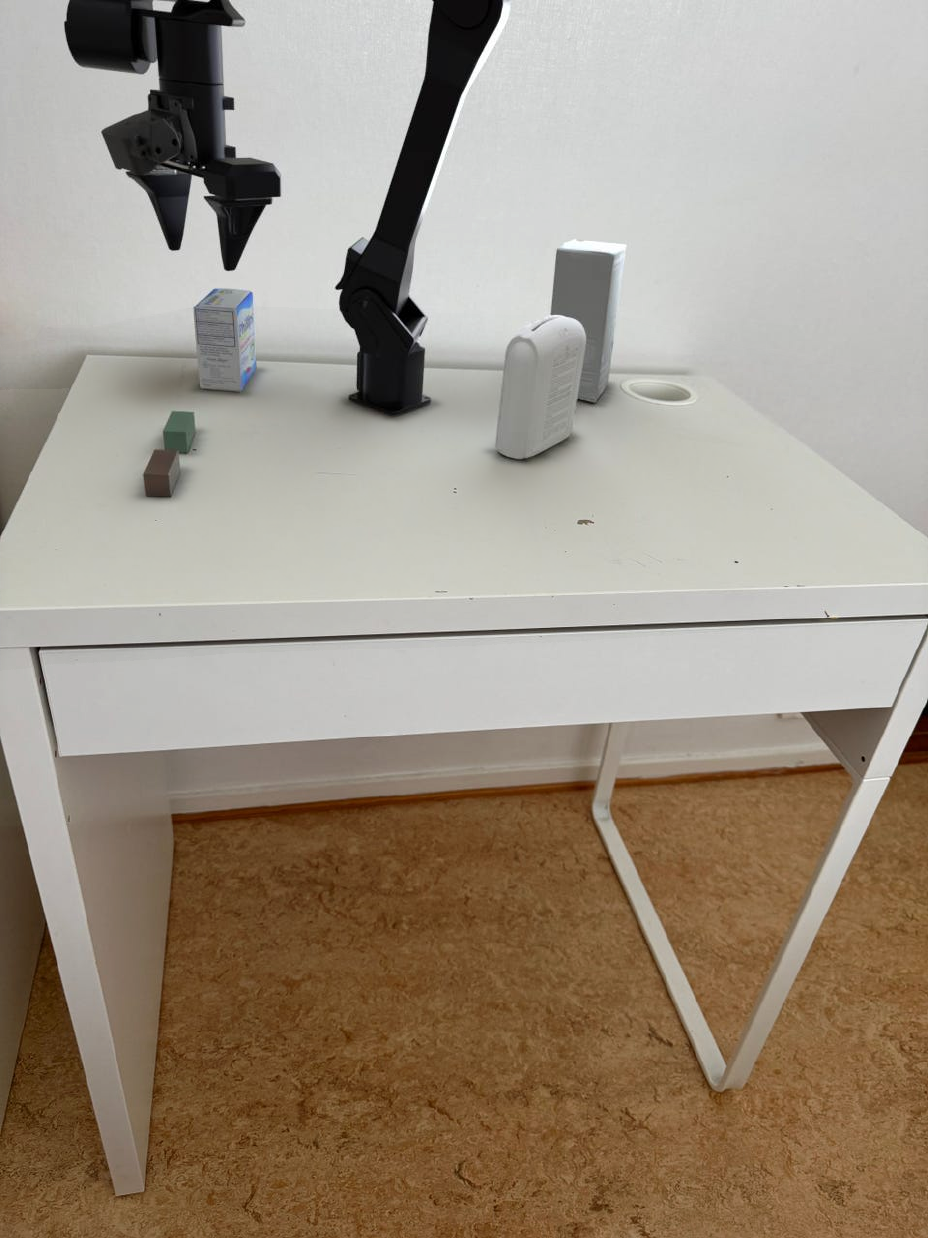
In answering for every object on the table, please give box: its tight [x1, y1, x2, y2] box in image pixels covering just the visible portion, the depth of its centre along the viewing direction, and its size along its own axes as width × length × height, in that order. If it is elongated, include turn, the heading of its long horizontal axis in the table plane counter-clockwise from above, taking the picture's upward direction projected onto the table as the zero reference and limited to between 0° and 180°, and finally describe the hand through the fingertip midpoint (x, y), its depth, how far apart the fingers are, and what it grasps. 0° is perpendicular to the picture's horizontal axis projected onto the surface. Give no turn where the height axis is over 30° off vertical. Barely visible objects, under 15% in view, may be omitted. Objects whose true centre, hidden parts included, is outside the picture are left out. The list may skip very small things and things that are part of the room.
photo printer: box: [495, 314, 586, 460], centre depth 87 cm, size 10×4×12 cm, turn 146°
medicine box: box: [193, 287, 257, 393], centre depth 96 cm, size 8×4×9 cm, turn 179°
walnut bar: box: [142, 448, 181, 498], centre depth 76 cm, size 5×2×2 cm, turn 6°
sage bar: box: [162, 410, 196, 454], centre depth 83 cm, size 5×2×2 cm, turn 6°
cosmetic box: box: [549, 239, 628, 403], centre depth 102 cm, size 8×7×16 cm
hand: (201, 259), depth 92 cm, fingers open, 9 cm apart
